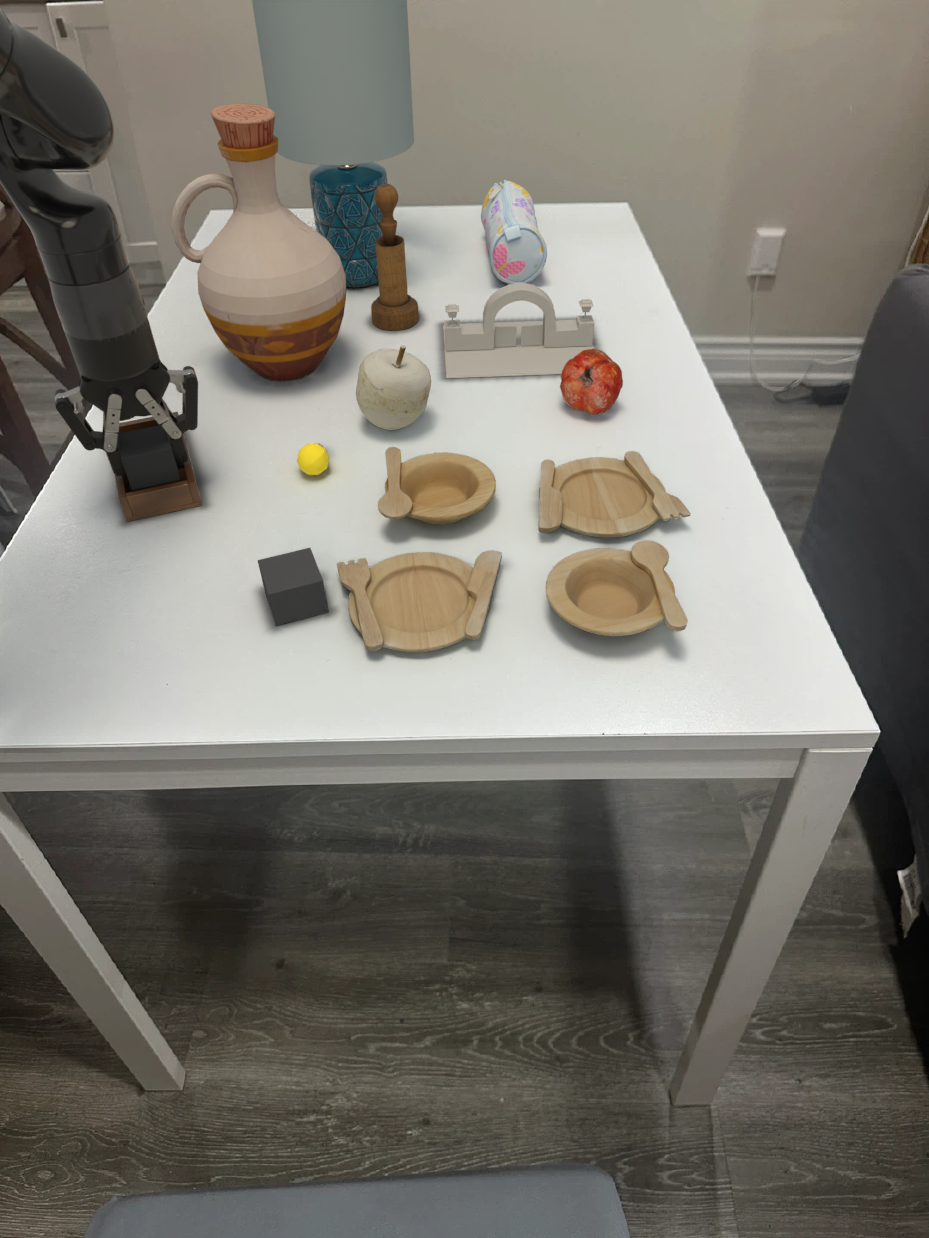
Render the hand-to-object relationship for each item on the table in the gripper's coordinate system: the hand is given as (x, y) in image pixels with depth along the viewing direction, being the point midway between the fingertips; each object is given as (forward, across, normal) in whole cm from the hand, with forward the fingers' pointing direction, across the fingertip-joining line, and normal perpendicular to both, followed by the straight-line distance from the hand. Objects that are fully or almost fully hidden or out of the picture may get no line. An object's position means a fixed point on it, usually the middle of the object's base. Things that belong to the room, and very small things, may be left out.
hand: (153, 469), depth 92 cm
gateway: (+3, +49, +16) cm, 52 cm away
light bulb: (+3, +17, -1) cm, 17 cm away
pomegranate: (+3, +51, -1) cm, 51 cm away
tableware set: (+3, +32, -24) cm, 40 cm away
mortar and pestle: (+3, +36, +30) cm, 47 cm away
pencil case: (+3, +59, +42) cm, 72 cm away
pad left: (0, 0, 0) cm, 0 cm away
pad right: (+3, +10, -22) cm, 25 cm away
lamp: (+3, +35, +46) cm, 58 cm away
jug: (+3, +18, +23) cm, 29 cm away
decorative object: (+3, +28, +4) cm, 28 cm away
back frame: (+3, 0, +4) cm, 5 cm away
